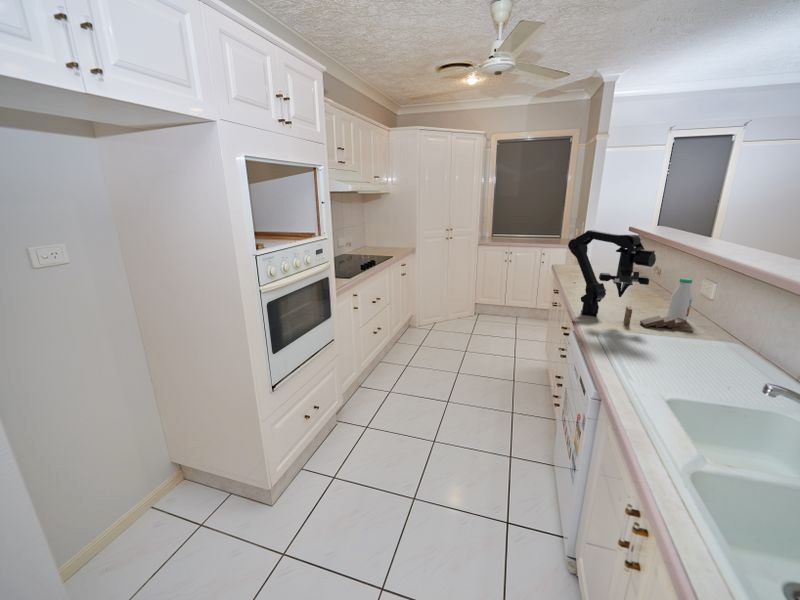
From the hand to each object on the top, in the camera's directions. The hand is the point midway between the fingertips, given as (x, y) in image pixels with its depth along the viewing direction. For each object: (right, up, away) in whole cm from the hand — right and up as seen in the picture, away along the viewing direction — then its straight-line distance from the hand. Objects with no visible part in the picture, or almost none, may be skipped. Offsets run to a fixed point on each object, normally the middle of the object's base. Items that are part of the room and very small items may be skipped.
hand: (619, 296), depth 161 cm
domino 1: (+4, -12, +1) cm, 13 cm away
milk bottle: (+31, -11, +7) cm, 34 cm away
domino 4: (+18, -12, -3) cm, 22 cm away
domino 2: (+9, -12, -2) cm, 16 cm away
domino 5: (+20, -14, -4) cm, 25 cm away
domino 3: (+14, -12, -2) cm, 19 cm away
